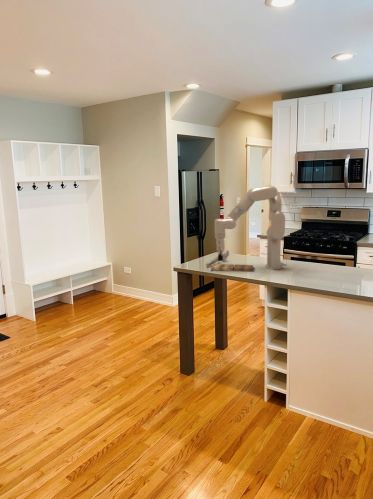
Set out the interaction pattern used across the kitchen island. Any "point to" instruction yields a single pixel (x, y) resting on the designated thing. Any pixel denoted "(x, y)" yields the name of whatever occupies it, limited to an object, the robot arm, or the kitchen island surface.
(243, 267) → the walnut plank
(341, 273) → the kitchen island surface
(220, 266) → the beige irregular flat piece
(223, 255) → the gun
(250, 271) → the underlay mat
